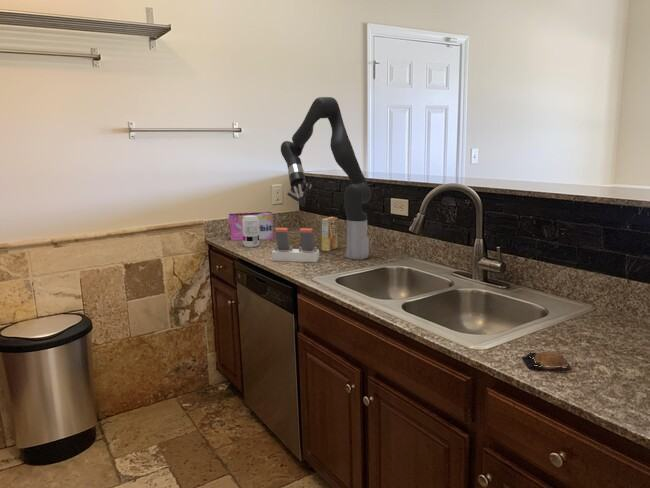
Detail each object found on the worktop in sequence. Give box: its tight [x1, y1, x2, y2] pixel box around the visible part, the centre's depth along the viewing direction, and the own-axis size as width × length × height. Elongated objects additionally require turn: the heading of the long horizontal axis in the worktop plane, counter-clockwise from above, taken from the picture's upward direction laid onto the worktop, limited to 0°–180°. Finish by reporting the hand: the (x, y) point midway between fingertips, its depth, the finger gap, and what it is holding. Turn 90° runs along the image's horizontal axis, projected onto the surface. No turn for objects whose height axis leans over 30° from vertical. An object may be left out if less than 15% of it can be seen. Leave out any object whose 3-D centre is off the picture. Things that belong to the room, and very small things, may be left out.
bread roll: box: [521, 351, 576, 373], centre depth 119 cm, size 11×8×4 cm
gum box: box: [227, 211, 274, 242], centre depth 267 cm, size 24×8×14 cm, turn 107°
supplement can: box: [242, 215, 260, 248], centre depth 248 cm, size 8×8×15 cm
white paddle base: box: [271, 245, 320, 263], centre depth 221 cm, size 20×7×6 cm, turn 82°
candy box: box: [321, 216, 339, 252], centre depth 240 cm, size 9×4×15 cm, turn 150°
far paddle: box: [274, 227, 290, 250], centre depth 219 cm, size 5×2×11 cm, turn 82°
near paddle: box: [299, 227, 315, 251], centre depth 217 cm, size 5×2×11 cm, turn 82°
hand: (302, 205), depth 230 cm, fingers closed
